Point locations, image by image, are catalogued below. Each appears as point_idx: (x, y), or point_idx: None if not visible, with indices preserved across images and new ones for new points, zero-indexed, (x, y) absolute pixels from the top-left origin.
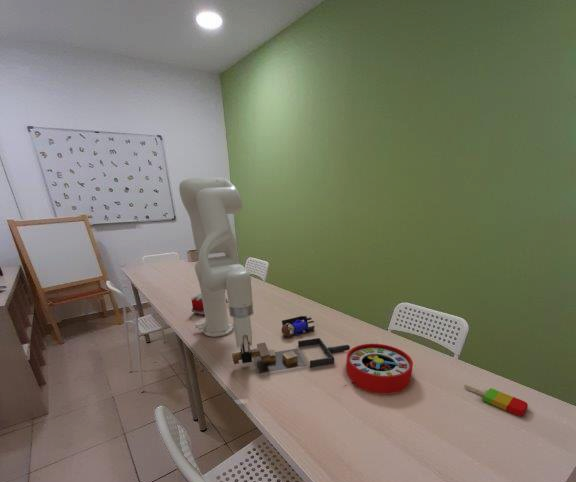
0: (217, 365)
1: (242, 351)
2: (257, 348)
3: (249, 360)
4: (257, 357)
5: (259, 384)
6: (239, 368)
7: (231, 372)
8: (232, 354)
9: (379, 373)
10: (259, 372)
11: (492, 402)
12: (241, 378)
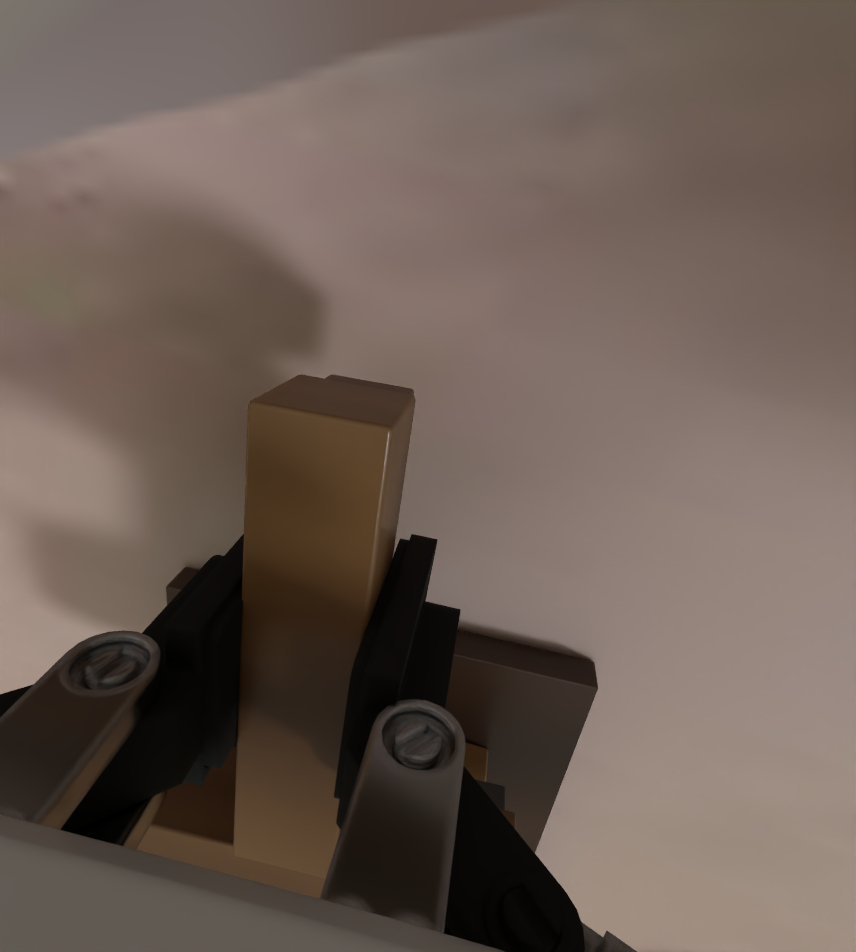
0: (706, 86)
1: (45, 685)
2: (325, 871)
3: None
4: (512, 695)
5: (34, 511)
6: (423, 419)
7: (368, 285)
8: (340, 435)
9: None
10: (176, 593)
11: None
12: (183, 374)
